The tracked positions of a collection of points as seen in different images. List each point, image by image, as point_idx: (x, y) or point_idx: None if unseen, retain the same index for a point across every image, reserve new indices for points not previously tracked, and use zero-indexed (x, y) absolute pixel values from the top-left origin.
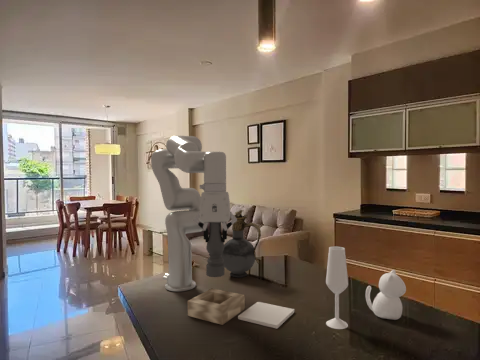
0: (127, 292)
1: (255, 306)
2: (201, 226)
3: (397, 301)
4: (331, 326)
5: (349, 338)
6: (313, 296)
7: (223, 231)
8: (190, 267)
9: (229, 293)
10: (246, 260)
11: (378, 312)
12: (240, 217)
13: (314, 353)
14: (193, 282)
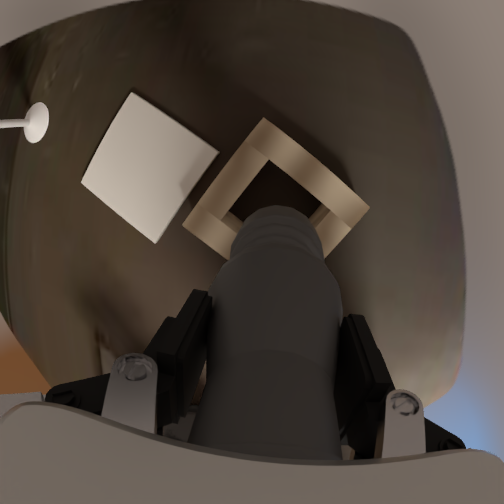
0: (456, 356)
1: (163, 211)
2: (431, 431)
3: None
4: (44, 108)
5: (39, 70)
6: (49, 264)
7: (169, 348)
8: None
9: (229, 246)
10: (169, 426)
11: None
12: None
13: (104, 11)
14: None
